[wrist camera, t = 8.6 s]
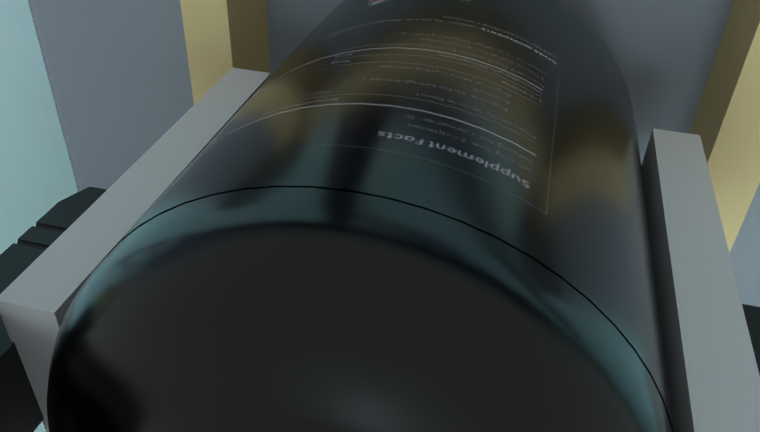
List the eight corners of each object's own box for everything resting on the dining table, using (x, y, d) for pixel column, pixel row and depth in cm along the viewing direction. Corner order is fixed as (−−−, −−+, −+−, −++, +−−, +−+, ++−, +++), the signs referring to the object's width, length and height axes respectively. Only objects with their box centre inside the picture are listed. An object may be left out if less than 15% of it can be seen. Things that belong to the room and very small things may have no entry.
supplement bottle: (627, 266, 15) (677, 1193, 6) (329, 252, 17) (-5, 930, 8) (651, -67, 11) (937, 1058, 2) (265, -37, 13) (-569, 595, 4)
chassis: (120, 226, 23) (45, 307, 20) (-10, -340, 14) (-179, -354, 11) (845, 365, 19) (895, 493, 16) (1261, -292, 11) (1544, -295, 7)
